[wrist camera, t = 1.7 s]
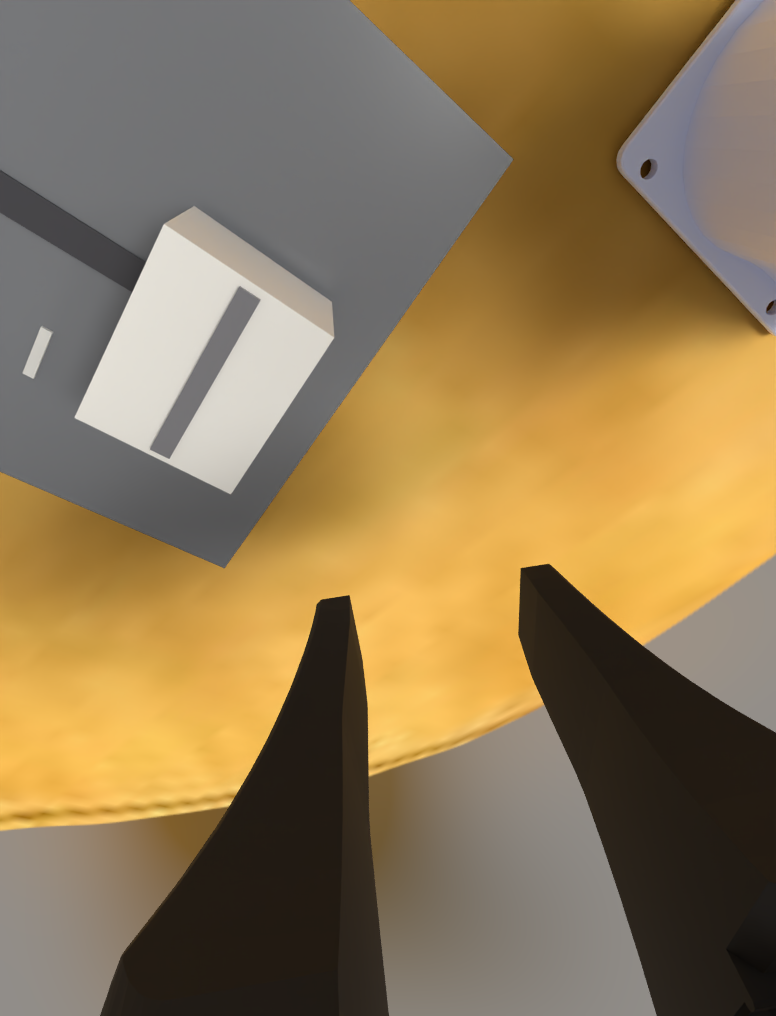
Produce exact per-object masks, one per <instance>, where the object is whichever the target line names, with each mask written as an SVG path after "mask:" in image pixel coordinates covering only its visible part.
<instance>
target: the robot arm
mask: <svg viewBox="0 0 776 1016" xmlns="http://www.w3.org/2000/svg"><path fill="white" fill-rule="evenodd" d="M648 159H649V160H650V162H651V170H650V172H649V174H648V175H647V176H646V177H644V178H642V177H641V175H640V169H641V166H642V164H643V163H644V162H645V161H646V160H648ZM616 162H617V168H618V170H619V172H620V173H621V174H622V175H623V177H624V178H625V179H626V180H627V181H628V182H629V183H630V184H631V185H632V186H633V187H634V188H635V189H636V190H637V191H638V193H639V194H640V195H641V196H642V197H643V198H644V199H645V200H646V201H647V202H648V203H649V204H650V205H651V206H652V208H653V209H654V210H655V211H656V212H657V213H658V214H659V215H660V216H661V217H662V218H663V219H664V220H665V221H666V222H667V224H668V225H669V226H670V227H671V228H672V229H673V230H674V231H675V232H676V233H677V234H678V235H679V236H680V237H681V239H682V240H683V241H684V242H685V243H686V244H687V245H688V246H689V247H690V248H691V249H692V250H693V251H694V252H695V253H696V255H697V256H698V257H699V258H700V259H701V260H702V261H703V262H704V263H705V264H706V265H707V266H708V267H709V268H710V270H711V271H712V272H713V273H714V274H715V275H716V276H717V277H718V278H719V279H720V280H721V281H722V282H723V283H724V284H725V286H726V287H727V288H728V289H729V290H730V291H731V292H732V293H733V294H734V295H735V296H736V297H737V298H738V299H739V301H740V302H741V303H742V304H743V305H744V306H745V307H746V308H747V309H748V310H749V311H750V312H751V313H752V314H753V315H754V317H755V318H756V319H757V320H758V321H759V322H760V323H761V324H762V325H763V326H764V327H765V328H766V329H767V330H768V332H769V333H771V334H773V335H775V336H776V0H735V2H734V3H733V4H732V5H731V7H730V8H729V9H728V11H727V12H726V13H725V14H724V16H723V17H722V18H721V20H720V21H719V22H718V23H717V25H716V26H715V27H714V28H713V30H712V31H711V32H710V34H709V35H708V36H707V37H706V39H705V40H704V41H703V43H702V44H701V45H700V46H699V48H698V49H697V50H696V52H695V53H694V54H693V55H692V57H691V58H690V59H689V60H688V62H687V63H686V64H685V66H684V67H683V68H682V69H681V71H680V72H679V73H678V75H677V76H676V77H675V78H674V80H673V81H672V82H671V83H670V85H669V86H668V87H667V89H666V90H665V91H664V92H663V94H662V95H661V96H660V98H659V99H658V100H657V101H656V103H655V104H654V105H653V107H652V108H651V109H650V110H649V112H648V113H647V114H646V115H645V117H644V118H643V119H642V121H641V122H640V123H639V124H638V126H637V127H636V128H635V130H634V131H633V132H632V133H631V135H630V136H629V137H628V138H627V140H626V141H625V142H624V144H623V145H622V146H621V148H620V150H619V152H618V155H617V159H616ZM773 300H774V303H773V306H772V307H771V309H770V310H768V311H767V312H766V308H767V306H768V305H769V303H770V302H772V301H773ZM518 635H519V638H520V641H521V644H522V648H523V651H524V654H525V657H526V660H527V663H528V666H529V669H530V672H531V675H532V678H533V680H534V683H535V685H536V687H537V689H538V692H539V694H540V696H541V698H542V700H543V703H544V705H545V707H546V709H547V711H548V713H549V716H550V718H551V720H552V722H553V724H554V726H555V729H556V731H557V733H558V735H559V737H560V739H561V741H562V744H563V746H564V748H565V750H566V752H567V755H568V757H569V759H570V761H571V763H572V765H573V768H574V770H575V772H576V774H577V777H578V779H579V782H580V784H581V786H582V789H583V791H584V794H585V796H586V799H587V802H588V805H589V807H590V810H591V813H592V816H593V819H594V822H595V824H596V827H597V830H598V833H599V836H600V838H601V841H602V844H603V847H604V850H605V853H606V856H607V859H608V862H609V865H610V868H611V871H612V874H613V877H614V880H615V883H616V886H617V889H618V892H619V895H620V898H621V901H622V904H623V907H624V911H625V914H626V917H627V920H628V923H629V926H630V929H631V933H632V936H633V939H634V942H635V945H636V948H637V951H638V955H639V957H640V961H641V964H642V968H643V971H644V975H645V978H646V981H647V985H648V988H649V991H650V995H651V998H652V1001H653V1004H654V1008H655V1011H656V1014H657V1016H776V733H775V732H774V731H772V730H770V729H768V728H766V727H765V726H763V725H761V724H760V723H758V722H756V721H754V720H752V719H751V718H749V717H747V716H745V715H744V714H742V713H740V712H738V711H737V710H735V709H733V708H732V707H730V706H729V705H727V704H725V703H724V702H722V701H720V700H719V699H717V698H715V697H714V696H712V695H711V694H710V693H708V692H707V691H705V690H703V689H702V688H700V687H699V686H697V685H696V684H694V683H693V682H691V681H690V680H688V679H687V678H686V677H684V676H683V675H681V674H680V673H678V672H677V671H676V670H674V669H673V668H671V667H670V666H669V665H667V664H666V663H665V662H663V661H662V660H661V659H659V658H658V657H657V656H655V655H654V654H653V653H652V652H650V651H649V650H647V649H646V648H645V647H644V646H642V645H641V644H640V643H639V642H637V641H636V640H635V639H634V638H632V637H631V636H630V635H629V634H627V633H626V632H625V631H624V630H623V629H622V628H620V627H619V626H618V625H617V624H616V623H614V622H613V621H612V620H611V619H610V618H608V617H607V616H606V615H605V614H604V613H603V612H601V611H600V610H599V609H598V608H597V607H596V606H595V605H594V604H592V603H591V602H590V601H589V600H588V599H587V598H586V597H585V596H584V595H582V594H581V593H580V592H579V591H578V590H577V589H576V588H575V587H574V586H573V585H572V584H571V583H569V582H568V581H567V580H566V579H565V578H564V577H563V576H562V575H561V574H560V573H559V572H558V571H557V570H556V569H555V568H553V567H552V566H551V565H550V564H545V565H538V566H532V567H526V568H521V578H520V605H519V632H518ZM368 788H369V787H368V707H367V696H366V687H365V678H364V669H363V661H362V655H361V650H360V645H359V640H358V635H357V630H356V625H355V620H354V615H353V610H352V605H351V600H350V595H348V596H342V597H335V598H329V599H323V600H320V602H319V603H318V604H317V606H316V612H315V616H314V620H313V624H312V628H311V631H310V635H309V638H308V641H307V644H306V647H305V651H304V654H303V656H302V659H301V662H300V664H299V667H298V670H297V672H296V675H295V678H294V681H293V683H292V686H291V688H290V690H289V693H288V695H287V697H286V700H285V702H284V704H283V706H282V709H281V711H280V713H279V715H278V718H277V720H276V722H275V724H274V726H273V728H272V730H271V733H270V735H269V737H268V739H267V741H266V743H265V745H264V746H263V748H262V750H261V752H260V754H259V756H258V758H257V760H256V761H255V763H254V765H253V767H252V769H251V771H250V772H249V774H248V776H247V778H246V779H245V781H244V783H243V784H242V786H241V788H240V789H239V791H238V793H237V795H236V796H235V798H234V800H233V801H232V803H231V805H230V806H229V808H228V809H227V811H226V813H225V814H224V816H223V817H222V819H221V821H220V822H219V824H218V825H217V827H216V828H215V830H214V831H213V833H212V834H211V835H210V837H209V838H208V840H207V841H206V843H205V844H204V846H203V847H202V849H201V850H200V852H199V853H198V854H197V856H196V857H195V859H194V860H193V862H192V863H191V864H190V866H189V867H188V869H187V870H186V872H185V873H184V875H183V876H182V878H181V879H180V880H179V881H178V883H177V884H176V886H175V887H174V888H173V890H172V891H171V892H170V894H169V895H168V896H167V897H166V899H165V900H164V901H163V903H162V904H161V905H160V906H159V908H158V909H157V910H156V911H155V913H154V914H153V915H152V917H151V918H150V919H149V920H148V922H147V923H146V924H145V926H144V927H143V928H142V929H141V931H140V932H139V933H138V935H137V936H136V937H135V938H134V940H133V941H132V942H131V943H130V945H129V946H128V947H127V948H126V950H125V951H124V953H123V954H122V956H121V958H120V961H119V964H118V966H117V969H116V972H115V974H114V977H113V980H112V982H111V985H110V988H109V992H108V995H107V998H106V1000H105V1003H104V1006H103V1009H102V1012H101V1015H100V1016H389V1013H388V1004H387V995H386V985H385V975H384V966H383V957H382V947H381V939H380V928H379V918H378V908H377V899H376V890H375V879H374V869H373V859H372V849H371V838H370V824H369V789H368Z"/></svg>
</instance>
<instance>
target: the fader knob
mask: <svg viewBox="0 0 776 1016" xmlns="http://www.w3.org/2000/svg"><path fill="white" fill-rule="evenodd" d="M333 339H334V325H333V310H332V302H331V301H330V300H329V299H327V298H326V297H324V296H323V295H321V294H320V293H319V292H317V291H316V290H314V289H313V288H311V287H310V286H308V285H307V284H306V283H304V282H303V281H301V280H300V279H298V278H297V277H296V276H294V275H293V274H291V273H290V272H288V271H287V270H286V269H284V268H283V267H281V266H280V265H278V264H277V263H275V262H274V261H273V260H271V259H270V258H268V257H267V256H265V255H264V254H263V253H261V252H260V251H258V250H257V249H255V248H254V247H253V246H251V245H250V244H248V243H247V242H245V241H244V240H242V239H241V238H240V237H238V236H237V235H235V234H234V233H232V232H231V231H230V230H228V229H227V228H225V227H224V226H222V225H221V224H219V223H218V222H217V221H215V220H214V219H212V218H211V217H209V216H208V215H207V214H205V213H204V212H202V211H201V210H199V209H198V208H197V207H195V206H193V207H192V208H190V209H188V210H187V211H185V212H183V213H181V214H180V215H178V216H176V217H175V218H173V219H171V220H170V221H168V222H166V223H164V225H163V227H162V229H161V231H160V233H159V236H158V238H157V240H156V242H155V244H154V246H153V249H152V251H151V253H150V255H149V257H148V259H147V262H146V264H145V266H144V268H143V270H142V272H141V275H140V277H139V279H138V281H137V283H136V285H135V288H134V290H133V292H132V294H131V296H130V298H129V301H128V303H127V305H126V307H125V309H124V311H123V314H122V316H121V318H120V320H119V322H118V324H117V327H116V329H115V331H114V333H113V335H112V337H111V340H110V342H109V344H108V346H107V348H106V350H105V353H104V355H103V357H102V359H101V361H100V363H99V366H98V368H97V370H96V372H95V374H94V376H93V379H92V381H91V383H90V385H89V387H88V389H87V392H86V394H85V396H84V398H83V400H82V402H81V405H80V407H79V409H78V411H77V413H76V415H75V418H76V419H78V420H80V421H82V422H84V423H86V424H88V425H90V426H92V427H94V428H96V429H98V430H100V431H102V432H104V433H106V434H108V435H110V436H113V437H115V438H117V439H119V440H121V441H123V442H125V443H127V444H129V445H131V446H133V447H135V448H137V449H139V450H141V451H143V452H145V453H147V454H149V455H151V456H153V457H155V458H157V459H159V460H161V461H163V462H166V463H168V464H170V465H172V466H174V467H176V468H178V469H180V470H182V471H184V472H186V473H188V474H190V475H192V476H194V477H196V478H198V479H200V480H202V481H204V482H206V483H208V484H210V485H212V486H214V487H216V488H219V489H221V490H223V491H225V492H227V493H229V494H231V493H232V492H233V490H234V489H235V487H236V486H237V484H238V483H239V481H240V480H241V478H242V477H243V475H244V474H245V472H246V471H247V469H248V468H249V466H250V465H251V463H252V462H253V460H254V459H255V457H256V456H257V454H258V453H259V451H260V450H261V448H262V446H263V445H264V443H265V442H266V440H267V439H268V437H269V436H270V434H271V433H272V431H273V430H274V428H275V427H276V425H277V424H278V422H279V421H280V419H281V418H282V416H283V415H284V413H285V412H286V410H287V409H288V407H289V406H290V404H291V403H292V401H293V399H294V398H295V396H296V395H297V393H298V392H299V390H300V389H301V387H302V386H303V384H304V383H305V381H306V380H307V378H308V377H309V375H310V374H311V372H312V371H313V369H314V368H315V366H316V365H317V363H318V362H319V360H320V359H321V357H322V356H323V354H324V353H325V351H326V349H327V348H328V346H329V345H330V343H331V342H332V340H333Z"/></svg>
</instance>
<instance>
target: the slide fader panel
mask: <svg viewBox="0 0 776 1016" xmlns="http://www.w3.org/2000/svg"><path fill="white" fill-rule="evenodd" d="M512 161H513V158H512V157H511V156H510V155H509V154H508V153H507V152H506V151H504V150H503V149H502V148H501V147H500V146H499V145H498V144H497V143H496V142H495V141H494V140H493V139H492V138H491V137H490V136H489V135H488V134H487V133H486V132H485V131H484V130H483V129H482V128H481V127H480V126H479V125H478V124H477V123H476V122H475V121H473V120H472V119H471V118H470V117H469V116H468V115H467V114H466V113H465V112H464V111H463V110H462V109H461V108H460V107H459V106H458V105H457V104H456V103H455V102H454V101H453V100H452V99H451V98H450V97H449V96H448V95H447V94H446V93H445V92H444V91H443V90H441V89H440V88H439V87H438V86H437V85H436V84H435V83H434V82H433V81H432V80H431V79H430V78H429V77H428V76H427V75H426V74H425V73H424V72H423V71H422V70H421V69H420V68H419V67H418V66H417V65H416V64H415V63H414V62H413V61H412V60H410V59H409V58H408V57H407V56H406V55H405V54H404V53H403V52H402V51H401V50H400V49H399V48H398V47H397V46H396V45H395V44H394V43H393V42H392V41H391V40H390V39H389V38H388V37H387V36H386V35H385V34H384V33H383V32H382V31H381V30H379V29H378V28H377V27H376V26H375V25H374V24H373V23H372V22H371V21H370V20H369V19H368V18H367V17H366V16H365V15H364V14H363V13H362V12H361V11H360V10H359V9H358V8H357V7H356V6H355V5H354V4H353V3H352V2H351V1H350V0H0V472H2V473H5V474H7V475H9V476H12V477H14V478H16V479H19V480H21V481H23V482H25V483H28V484H30V485H32V486H35V487H37V488H39V489H42V490H44V491H46V492H49V493H51V494H53V495H56V496H58V497H60V498H63V499H65V500H67V501H70V502H72V503H74V504H77V505H79V506H81V507H84V508H86V509H88V510H90V511H93V512H95V513H97V514H100V515H102V516H104V517H107V518H109V519H111V520H114V521H116V522H118V523H121V524H123V525H125V526H128V527H130V528H132V529H135V530H137V531H139V532H142V533H144V534H146V535H149V536H151V537H153V538H155V539H158V540H160V541H162V542H165V543H167V544H169V545H172V546H174V547H176V548H179V549H181V550H183V551H186V552H188V553H190V554H193V555H195V556H197V557H200V558H202V559H204V560H207V561H209V562H211V563H214V564H216V565H218V566H221V567H223V568H225V567H226V565H227V564H228V563H229V561H230V560H231V558H232V557H233V555H234V554H235V553H236V551H237V550H238V548H239V547H240V546H241V544H242V543H243V541H244V540H245V539H246V537H247V536H248V534H249V533H250V531H251V530H252V529H253V527H254V526H255V524H256V523H257V522H258V520H259V519H260V517H261V516H262V514H263V513H264V512H265V510H266V509H267V507H268V506H269V505H270V503H271V502H272V500H273V499H274V497H275V496H276V495H277V493H278V492H279V490H280V489H281V488H282V486H283V485H284V483H285V482H286V481H287V479H288V478H289V476H290V475H291V473H292V472H293V471H294V469H295V468H296V466H297V465H298V464H299V462H300V461H301V459H302V458H303V456H304V455H305V454H306V452H307V451H308V449H309V448H310V447H311V445H312V444H313V442H314V441H315V440H316V438H317V437H318V435H319V434H320V432H321V431H322V430H323V428H324V427H325V425H326V424H327V423H328V421H329V420H330V418H331V417H332V415H333V414H334V413H335V411H336V410H337V408H338V407H339V406H340V404H341V403H342V401H343V400H344V398H345V397H346V396H347V394H348V393H349V391H350V390H351V389H352V387H353V386H354V384H355V383H356V382H357V380H358V379H359V377H360V376H361V374H362V373H363V372H364V370H365V369H366V367H367V366H368V365H369V363H370V362H371V360H372V359H373V357H374V356H375V355H376V353H377V352H378V350H379V349H380V348H381V346H382V345H383V343H384V342H385V340H386V339H387V338H388V336H389V335H390V333H391V332H392V331H393V329H394V328H395V326H396V325H397V324H398V322H399V321H400V319H401V318H402V316H403V315H404V314H405V312H406V311H407V309H408V308H409V307H410V305H411V304H412V302H413V301H414V299H415V298H416V297H417V295H418V294H419V292H420V291H421V290H422V288H423V287H424V285H425V284H426V283H427V281H428V280H429V278H430V277H431V275H432V274H433V273H434V271H435V270H436V268H437V267H438V266H439V264H440V263H441V261H442V260H443V258H444V257H445V256H446V254H447V253H448V251H449V250H450V249H451V247H452V246H453V244H454V243H455V241H456V240H457V239H458V237H459V236H460V234H461V233H462V232H463V230H464V229H465V227H466V226H467V225H468V223H469V222H470V220H471V219H472V217H473V216H474V215H475V213H476V212H477V210H478V209H479V208H480V206H481V205H482V203H483V202H484V200H485V199H486V198H487V196H488V195H489V193H490V192H491V191H492V189H493V188H494V186H495V185H496V184H497V182H498V181H499V179H500V178H501V176H502V175H503V174H504V172H505V171H506V169H507V168H508V167H509V165H510V164H511V162H512ZM193 206H195V207H197V208H198V209H199V210H201V211H202V212H204V213H205V214H207V215H208V216H209V217H211V218H212V219H214V220H215V221H217V222H218V223H219V224H221V225H222V226H224V227H225V228H227V229H228V230H230V231H231V232H232V233H234V234H235V235H237V236H238V237H240V238H241V239H242V240H244V241H245V242H247V243H248V244H250V245H251V246H253V247H254V248H255V249H257V250H258V251H260V252H261V253H263V254H264V255H265V256H267V257H268V258H270V259H271V260H273V261H274V262H275V263H277V264H278V265H280V266H281V267H283V268H284V269H286V270H287V271H288V272H290V273H291V274H293V275H294V276H296V277H297V278H298V279H300V280H301V281H303V282H304V283H306V284H307V285H308V286H310V287H311V288H313V289H314V290H316V291H317V292H319V293H320V294H321V295H323V296H324V297H326V298H327V299H329V300H330V301H331V302H332V310H333V325H334V339H333V340H332V342H331V343H330V345H329V346H328V348H327V349H326V351H325V353H324V354H323V356H322V357H321V359H320V360H319V362H318V363H317V365H316V366H315V368H314V369H313V371H312V372H311V374H310V375H309V377H308V378H307V380H306V381H305V383H304V384H303V386H302V387H301V389H300V390H299V392H298V393H297V395H296V396H295V398H294V399H293V401H292V403H291V404H290V406H289V407H288V409H287V410H286V412H285V413H284V415H283V416H282V418H281V419H280V421H279V422H278V424H277V425H276V427H275V428H274V430H273V431H272V433H271V434H270V436H269V437H268V439H267V440H266V442H265V443H264V445H263V446H262V448H261V450H260V451H259V453H258V454H257V456H256V457H255V459H254V460H253V462H252V463H251V465H250V466H249V468H248V469H247V471H246V472H245V474H244V475H243V477H242V478H241V480H240V481H239V483H238V484H237V486H236V487H235V489H234V490H233V492H232V493H231V494H229V493H227V492H225V491H223V490H221V489H219V488H216V487H214V486H212V485H210V484H208V483H206V482H204V481H202V480H200V479H198V478H196V477H194V476H192V475H190V474H188V473H186V472H184V471H182V470H180V469H178V468H176V467H174V466H172V465H170V464H168V463H166V462H163V461H161V460H159V459H157V458H155V457H153V456H151V455H149V454H147V453H145V452H143V451H141V450H139V449H137V448H135V447H133V446H131V445H129V444H127V443H125V442H123V441H121V440H119V439H117V438H115V437H113V436H110V435H108V434H106V433H104V432H102V431H100V430H98V429H96V428H94V427H92V426H90V425H88V424H86V423H84V422H82V421H80V420H78V419H76V418H75V415H76V413H77V411H78V409H79V407H80V405H81V402H82V400H83V398H84V396H85V394H86V392H87V389H88V387H89V385H90V383H91V381H92V379H93V376H94V374H95V372H96V370H97V368H98V366H99V363H100V361H101V359H102V357H103V355H104V353H105V350H106V348H107V346H108V344H109V342H110V340H111V337H112V335H113V333H114V331H115V329H116V327H117V324H118V322H119V320H120V318H121V316H122V314H123V311H124V309H125V307H126V305H127V303H128V301H129V298H130V296H131V294H132V292H133V290H134V288H135V285H136V283H137V281H138V279H139V277H140V275H141V272H142V270H143V268H144V266H145V264H146V262H147V259H148V257H149V255H150V253H151V251H152V249H153V246H154V244H155V242H156V240H157V238H158V236H159V233H160V231H161V229H162V227H163V225H164V223H166V222H168V221H170V220H171V219H173V218H175V217H176V216H178V215H180V214H181V213H183V212H185V211H187V210H188V209H190V208H192V207H193Z"/></svg>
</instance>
